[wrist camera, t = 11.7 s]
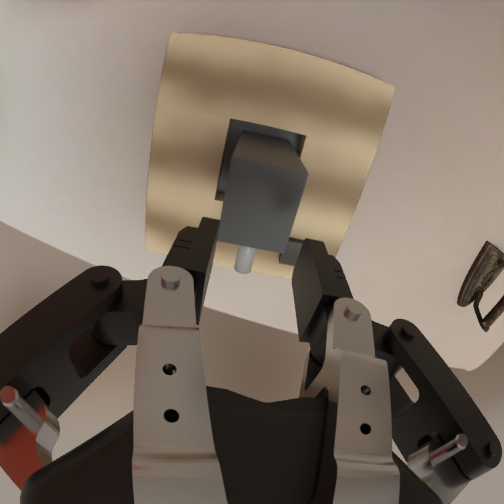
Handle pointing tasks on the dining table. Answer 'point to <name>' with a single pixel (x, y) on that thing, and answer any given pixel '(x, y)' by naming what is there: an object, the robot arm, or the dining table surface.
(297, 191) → the plug
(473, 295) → the clothes iron
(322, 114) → the socket board
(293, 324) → the dining table surface
